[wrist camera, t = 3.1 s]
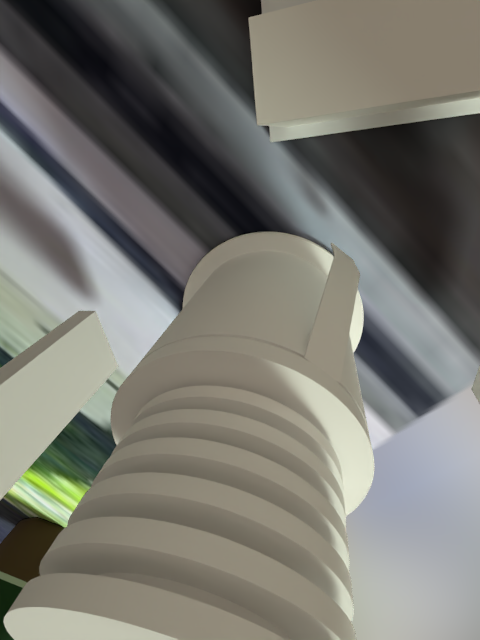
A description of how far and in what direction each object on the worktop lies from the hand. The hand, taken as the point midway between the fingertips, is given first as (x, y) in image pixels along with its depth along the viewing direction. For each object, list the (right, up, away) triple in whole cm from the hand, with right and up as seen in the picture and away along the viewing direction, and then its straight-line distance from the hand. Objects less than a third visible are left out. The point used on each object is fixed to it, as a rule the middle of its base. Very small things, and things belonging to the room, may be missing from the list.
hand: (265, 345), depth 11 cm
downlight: (0, +1, +2) cm, 2 cm away
